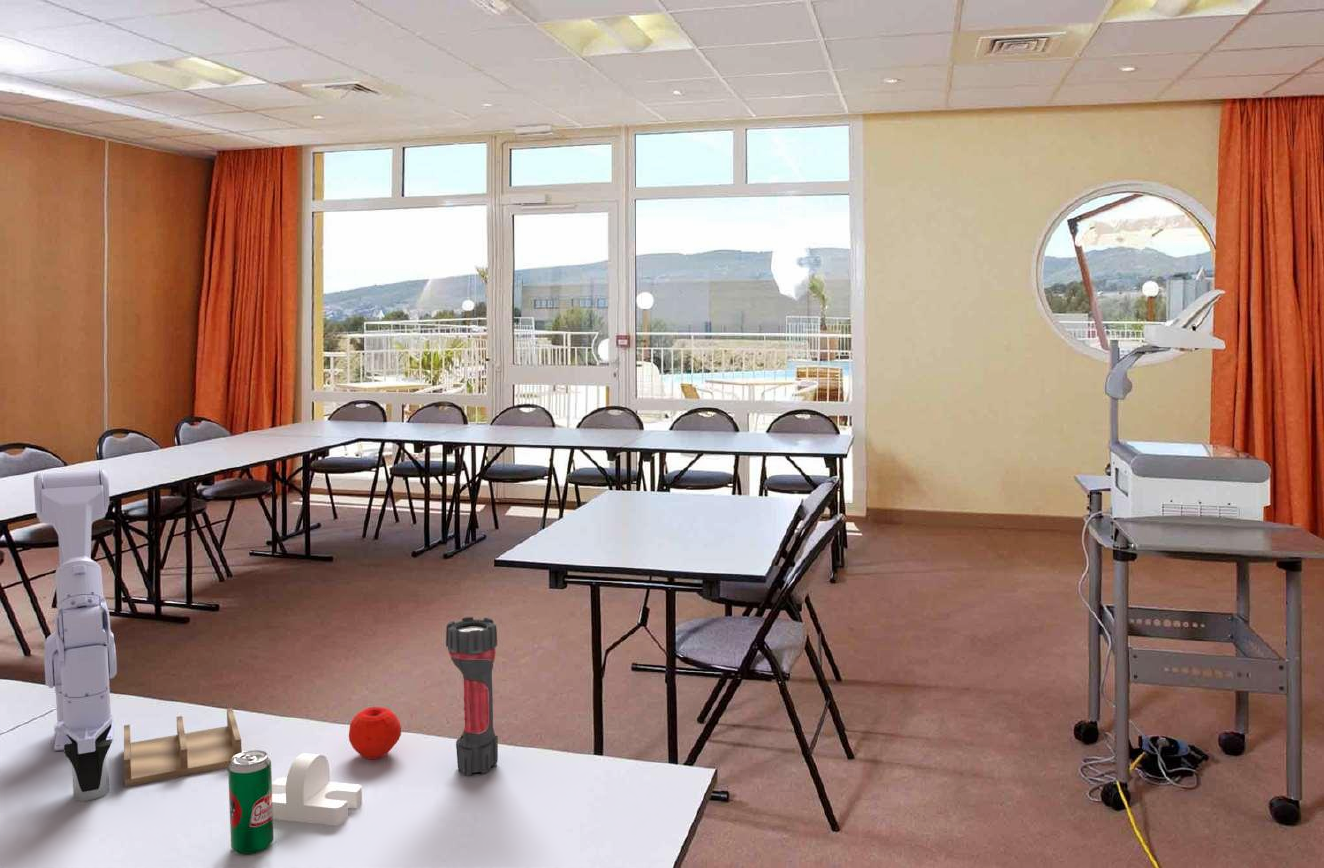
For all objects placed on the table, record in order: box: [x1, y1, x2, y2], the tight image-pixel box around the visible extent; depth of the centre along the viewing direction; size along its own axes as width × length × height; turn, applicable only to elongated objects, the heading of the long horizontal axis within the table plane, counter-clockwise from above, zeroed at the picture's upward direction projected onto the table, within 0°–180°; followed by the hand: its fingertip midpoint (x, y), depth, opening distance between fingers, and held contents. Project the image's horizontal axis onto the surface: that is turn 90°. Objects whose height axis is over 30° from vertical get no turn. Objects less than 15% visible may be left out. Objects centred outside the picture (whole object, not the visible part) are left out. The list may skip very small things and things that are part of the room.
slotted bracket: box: [272, 752, 363, 826], centre depth 134 cm, size 13×7×8 cm, turn 80°
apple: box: [348, 706, 402, 760], centre depth 151 cm, size 8×8×7 cm
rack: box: [123, 707, 243, 787], centre depth 150 cm, size 14×16×4 cm
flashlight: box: [445, 616, 499, 777], centre depth 145 cm, size 8×8×23 cm
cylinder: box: [71, 753, 110, 802], centre depth 138 cm, size 4×4×6 cm
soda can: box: [227, 749, 275, 856], centre depth 124 cm, size 5×5×12 cm
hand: (91, 782), depth 138 cm, fingers closed on cylinder, 4 cm apart
